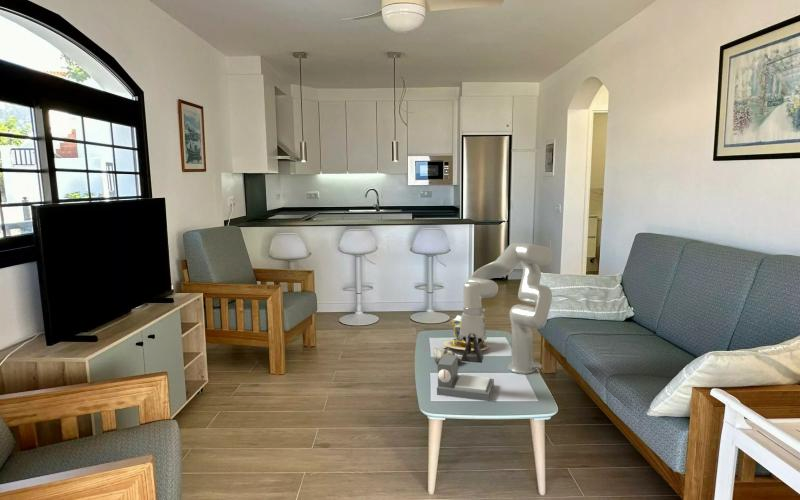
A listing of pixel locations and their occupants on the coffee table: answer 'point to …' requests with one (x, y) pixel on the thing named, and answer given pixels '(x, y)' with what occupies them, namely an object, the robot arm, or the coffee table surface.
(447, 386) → the grey bracket with tile
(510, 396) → the coffee table surface
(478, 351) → the phone stand
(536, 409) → the coffee table surface
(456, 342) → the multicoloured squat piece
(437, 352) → the ceramic sculpture
